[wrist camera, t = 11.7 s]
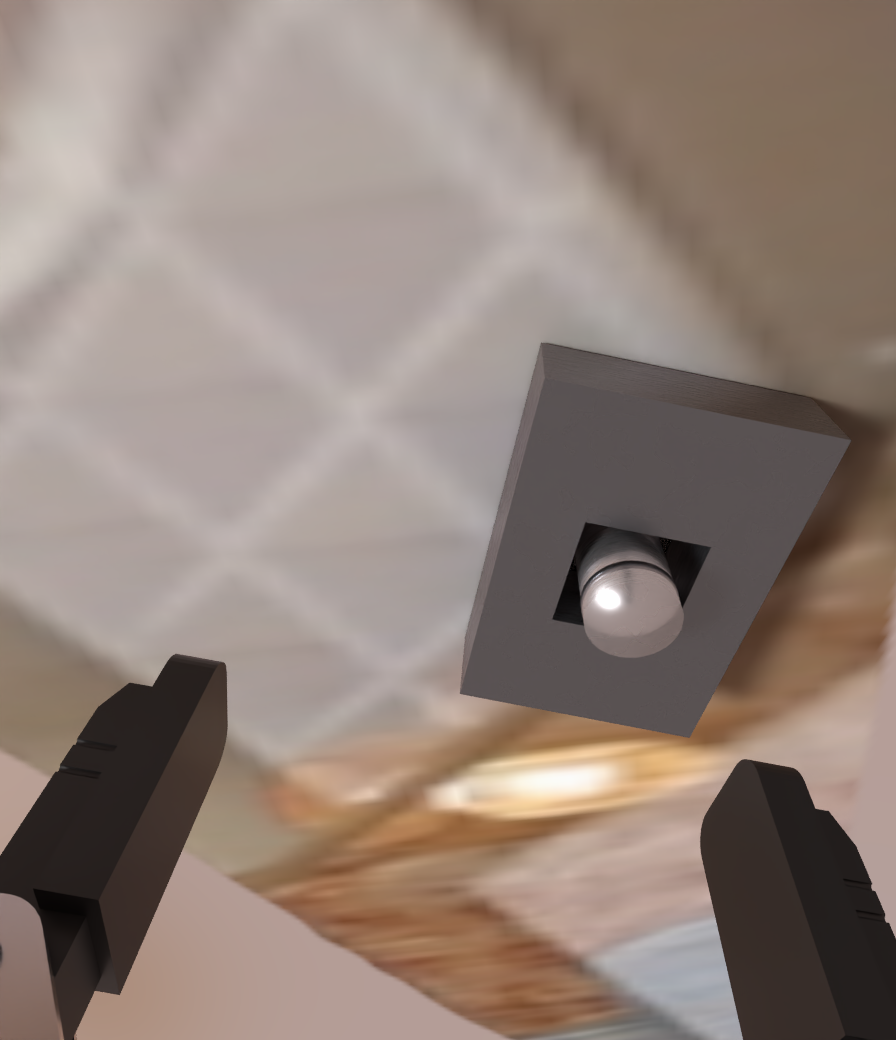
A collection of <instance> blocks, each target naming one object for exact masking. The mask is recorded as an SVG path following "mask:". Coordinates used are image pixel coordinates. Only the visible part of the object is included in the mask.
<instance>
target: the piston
mask: <svg viewBox="0 0 896 1040" xmlns="http://www.w3.org/2000/svg"><path fill="white" fill-rule="evenodd" d="M575 559H576V567H577V575H578V582H579V590H580V605H581V613H582V617H583V621H584V628H585V632H586V634H587V636H588V638H589V639H590V641H591V642H592V643H593V644H594V645H595V646H596V647H597V648H599V649H600V650H602V651H604V652H606V653H608V654H610V655H613V656H617V657H624V658H637V657H644V656H648V655H651V654H654V653H656V652H658V651H661V650H662V649H664V648H666V647H667V646H668V645H669V644H671V643H672V642H673V641H674V640H675V639H676V637H677V636H678V634H679V633H680V631H681V628H682V626H683V621H684V614H683V609H682V606H681V603H680V597H679V594H678V591H677V587H676V584H675V582H674V581H673V579H672V575H671V572H670V569H669V566H668V563H667V560H666V557H665V554H664V551H663V548H662V545H661V542H660V539H659V537H658V536H653V535H648V534H643V533H638V532H633V531H628V530H622V529H617V528H612V527H607V526H602V525H597V524H592V523H587V522H585V524H584V527H583V530H582V533H581V536H580V539H579V542H578V545H577V548H576V551H575Z"/></svg>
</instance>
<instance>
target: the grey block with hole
mask: <svg viewBox="0 0 896 1040" xmlns="http://www.w3.org/2000/svg"><path fill="white" fill-rule="evenodd" d="M850 442H851V439H850V438H849V437H848V436H847V435H846V434H845V433H844V432H843V431H842V430H841V429H840V428H839V427H838V426H837V425H836V424H835V422H834V421H833V420H832V419H831V418H830V417H829V416H828V415H827V414H826V413H825V412H824V411H823V410H822V409H821V408H820V407H819V406H818V405H817V404H816V403H815V401H814V400H813V399H812V398H808V397H804V396H799V395H794V394H789V393H784V392H779V391H774V390H769V389H765V388H760V387H755V386H750V385H745V384H740V383H735V382H730V381H726V380H721V379H716V378H711V377H706V376H701V375H696V374H691V373H687V372H682V371H677V370H672V369H667V368H662V367H657V366H652V365H648V364H643V363H638V362H633V361H628V360H623V359H618V358H613V357H609V356H604V355H599V354H594V353H589V352H584V351H579V350H574V349H570V348H565V347H560V346H555V345H550V344H545V343H541V345H540V349H539V353H538V357H537V361H536V365H535V369H534V372H533V376H532V380H531V384H530V388H529V392H528V396H527V400H526V403H525V407H524V411H523V415H522V419H521V423H520V427H519V431H518V434H517V438H516V442H515V446H514V450H513V454H512V458H511V462H510V465H509V469H508V473H507V477H506V481H505V485H504V489H503V493H502V496H501V500H500V504H499V508H498V512H497V516H496V520H495V524H494V527H493V531H492V535H491V539H490V543H489V547H488V551H487V555H486V558H485V562H484V566H483V570H482V574H481V578H480V582H479V586H478V589H477V593H476V597H475V601H474V605H473V609H472V613H471V617H470V620H469V624H468V628H467V632H466V636H465V644H464V655H463V666H462V677H461V688H460V694H464V695H469V696H474V697H479V698H484V699H490V700H495V701H500V702H505V703H511V704H516V705H521V706H526V707H531V708H537V709H542V710H547V711H552V712H558V713H563V714H568V715H573V716H578V717H584V718H589V719H594V720H599V721H605V722H610V723H615V724H620V725H626V726H631V727H636V728H641V729H646V730H652V731H657V732H662V733H667V734H673V735H678V736H683V737H688V738H690V736H691V734H692V732H693V730H694V728H695V727H696V725H697V723H698V721H699V719H700V717H701V716H702V714H703V712H704V710H705V708H706V706H707V705H708V703H709V701H710V699H711V697H712V695H713V694H714V692H715V690H716V688H717V686H718V684H719V683H720V681H721V679H722V677H723V675H724V673H725V672H726V670H727V668H728V666H729V664H730V662H731V661H732V659H733V657H734V655H735V653H736V651H737V650H738V648H739V646H740V644H741V642H742V640H743V639H744V637H745V635H746V633H747V631H748V629H749V628H750V626H751V624H752V622H753V620H754V618H755V617H756V615H757V613H758V611H759V609H760V607H761V605H762V604H763V602H764V600H765V598H766V596H767V594H768V593H769V591H770V589H771V587H772V585H773V583H774V582H775V580H776V578H777V576H778V574H779V572H780V571H781V569H782V567H783V565H784V563H785V561H786V560H787V558H788V556H789V554H790V552H791V550H792V549H793V547H794V545H795V543H796V541H797V539H798V538H799V536H800V534H801V532H802V530H803V528H804V527H805V525H806V523H807V521H808V519H809V517H810V516H811V514H812V512H813V510H814V508H815V506H816V505H817V503H818V501H819V499H820V497H821V495H822V494H823V492H824V490H825V488H826V486H827V484H828V483H829V481H830V479H831V477H832V475H833V473H834V472H835V470H836V468H837V466H838V464H839V462H840V461H841V459H842V457H843V455H844V453H845V451H846V450H847V448H848V446H849V444H850ZM585 522H587V523H592V524H597V525H602V526H607V527H612V528H617V529H622V530H628V531H633V532H638V533H643V534H648V535H653V536H658V537H663V538H668V539H672V540H671V542H670V544H669V547H668V549H667V552H666V554H665V557H666V560H667V563H668V566H669V569H670V572H671V575H672V579H673V581H674V582H675V584H676V587H677V591H678V594H679V597H680V603H681V606H682V609H683V614H684V621H683V626H682V628H681V631H680V633H679V634H678V636H677V637H676V639H675V640H674V641H673V642H672V643H671V644H669V645H668V646H667V647H666V648H664V649H662V650H661V651H658V652H656V653H654V654H651V655H648V656H644V657H637V658H624V657H617V656H613V655H610V654H608V653H606V652H604V651H602V650H600V649H599V648H597V647H596V646H595V645H594V644H593V643H592V642H591V641H590V639H589V638H588V636H587V634H586V632H585V628H584V621H583V617H582V613H581V605H580V590H579V582H578V575H577V572H576V571H571V570H569V568H570V566H571V563H572V560H573V557H574V554H575V551H576V548H577V545H578V542H579V539H580V536H581V533H582V530H583V527H584V524H585Z"/></svg>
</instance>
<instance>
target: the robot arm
mask: <svg viewBox="0 0 896 1040" xmlns="http://www.w3.org/2000/svg"><path fill="white" fill-rule="evenodd" d="M227 727H228V721H227V671H226V665H225V663H224V662H219V661H213V660H208V659H202V658H197V657H191V656H186V655H180V654H175V655H173V656H172V657H171V658H170V659H169V660H168V662H167V663H166V665H165V666H164V668H163V670H162V671H161V673H160V675H159V676H158V678H157V680H156V681H155V683H154V685H153V687H151V686H145V685H140V684H134V683H129V684H127V685H126V686H125V687H124V688H122V689H121V690H120V691H118V692H117V693H116V694H114V695H113V696H112V697H111V698H109V699H108V700H107V701H105V702H104V703H103V704H102V705H100V706H99V707H98V708H97V710H96V711H95V713H94V714H93V716H92V717H91V719H90V720H89V722H88V723H87V725H86V726H85V728H84V729H83V731H82V732H81V734H80V735H79V737H78V738H77V743H76V745H73V746H72V748H71V749H70V751H69V752H68V754H67V755H66V757H65V758H64V760H63V761H62V763H61V764H60V769H59V771H58V772H55V773H54V775H53V776H52V778H51V779H50V781H49V782H48V784H47V786H46V787H45V789H44V790H43V792H42V793H41V795H40V796H39V798H38V799H37V801H36V802H35V804H34V805H33V807H32V808H31V810H30V812H29V813H28V814H27V816H26V817H25V819H24V820H23V822H22V823H21V825H20V827H19V828H18V830H17V831H16V833H15V834H14V836H13V837H12V839H11V840H10V842H9V843H8V845H7V846H6V848H5V849H4V851H3V852H2V854H1V855H0V1040H77V1037H76V1030H77V1028H78V1026H79V1024H80V1022H81V1020H82V1017H83V1015H84V1013H85V1011H86V1009H87V1007H88V1004H89V1002H90V1000H91V998H92V996H93V994H94V991H100V992H106V993H111V994H117V995H120V993H121V991H122V988H123V986H124V984H125V981H126V979H127V976H128V975H129V972H130V970H131V968H132V965H133V963H134V961H135V958H136V956H137V954H138V951H139V949H140V946H141V944H142V942H143V940H144V937H145V935H146V933H147V930H148V928H149V926H150V924H151V921H152V919H153V917H154V914H155V912H156V910H157V907H158V905H159V903H160V900H161V898H162V896H163V893H164V891H165V889H166V887H167V884H168V882H169V879H170V877H171V875H172V873H173V870H174V868H175V866H176V863H177V861H178V859H179V856H180V854H181V852H182V849H183V847H184V845H185V843H186V840H187V838H188V836H189V833H190V831H191V829H192V826H193V824H194V822H195V819H196V817H197V815H198V812H199V810H200V808H201V805H202V803H203V801H204V799H205V796H206V794H207V792H208V789H209V787H210V785H211V782H212V780H213V778H214V775H215V773H216V771H217V768H218V766H219V763H220V760H221V757H222V754H223V750H224V746H225V742H226V736H227ZM700 847H701V855H702V860H703V865H704V869H705V874H706V878H707V882H708V887H709V891H710V896H711V900H712V904H713V909H714V913H715V918H716V922H717V926H718V931H719V935H720V940H721V944H722V948H723V953H724V957H725V962H726V966H727V970H728V975H729V979H730V983H731V988H732V992H733V997H734V1001H735V1005H736V1010H737V1014H738V1019H739V1023H740V1027H741V1032H742V1036H743V1040H896V938H895V936H894V934H893V931H892V929H891V927H890V924H889V923H886V922H885V913H884V910H883V908H882V906H881V903H880V901H879V899H878V896H877V894H876V892H875V891H872V889H871V885H872V883H871V880H870V878H869V875H868V873H867V871H866V868H865V866H864V864H863V861H862V859H861V857H860V854H859V852H858V850H857V847H856V845H855V844H854V843H853V842H852V840H851V839H850V838H849V837H848V835H847V834H846V833H845V831H844V830H843V829H842V828H841V826H840V825H839V824H838V823H837V821H836V820H835V819H834V817H833V816H832V815H831V814H830V812H829V811H824V810H819V809H815V807H814V804H813V802H812V799H811V797H810V794H809V791H808V789H807V786H806V784H805V781H804V779H803V777H802V776H801V774H800V773H799V772H798V771H797V770H796V769H794V768H791V767H785V766H780V765H774V764H769V763H763V762H758V761H752V760H747V759H744V760H741V761H740V762H739V763H738V764H737V765H736V766H735V768H734V770H733V771H732V773H731V774H730V776H729V778H728V779H727V781H726V782H725V784H724V786H723V787H722V789H721V790H720V792H719V794H718V795H717V797H716V798H715V800H714V802H713V803H712V805H711V806H710V808H709V810H708V811H707V813H706V815H705V817H704V820H703V823H702V828H701V836H700Z"/></svg>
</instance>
